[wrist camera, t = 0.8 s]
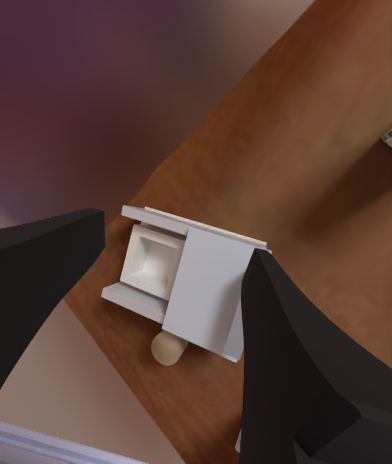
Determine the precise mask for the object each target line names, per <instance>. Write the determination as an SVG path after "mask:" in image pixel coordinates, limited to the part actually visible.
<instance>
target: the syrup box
mask: <svg viewBox="0 0 392 464" xmlns="http://www.w3.org/2000/svg"><path fill="white" fill-rule="evenodd" d="M381 139H382V140H383V141H384V142H385V143H386V144H387V145H388V146H389V147H390V148H391V149H392V129H391V130H390V131H388V132H387V133H386V134H385V135H383V136H382V138H381Z"/></svg>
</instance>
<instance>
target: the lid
mask: <svg viewBox="0 0 392 464" xmlns="http://www.w3.org/2000/svg"><path fill="white" fill-rule="evenodd" d="M254 248H259V249H263V250H267V249H264V248H261V247H258V246H254V245H251V244H248V243H245V242H241V241H238V240H235V239H231V238H228V237H225V236H222V235H218V234H215V233H212V232H208V231H205V230H202V229H199V228H195V227H192V226H190V228H189V231H188V235H187V239H186V242H185V246H184V249H183V253H182V257H181V260H180V264H179V268H178V271H177V275H176V278H175V282H174V286H173V289H172V293H171V297H170V300H169V304H168V307H167V311H166V315H165V318H164V322H163V326H162V329H164V330H166V331H168V332H170V333H172V334H174V335H177V336H179V337H181V338H183V339H185V340H188V341H190V342H192V343H194V344H196V345H198V346H201V347H203V348H205V349H207V350H209V351H212V352H214V353H216V354H218V355H220V356H223V357H225V358H227V359H229V360H231V361H233V362H237V359H238V360H240V357H241V354H242V351H243V348H244V339H243V326H242V313H241V284H242V279H243V276H244V274H245V271H246V268H247V266H248V263H249V261H250V258H251V256H252V253H253V251H254ZM267 251H269V252H270V254H271V253H272V251H271V250H267Z"/></svg>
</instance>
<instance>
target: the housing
mask: <svg viewBox="0 0 392 464" xmlns="http://www.w3.org/2000/svg"><path fill="white" fill-rule="evenodd" d="M121 215H124V216H127V217H130V218H133V219H136V220H139V221H141V225H134V226H133V230H132V234H131V238H130V242H129V246H128V250H127V254H126V258H125V262H124V266H123V270H122V274H121V278H120V281H121V282H118V283H116V284H113V285H110V286H108V287H105V288H103V292H102V296H101V297H103V298H105V299H108V300H110V301H112V302H114V303H116V304H119V305H121V306H123V307H125V308H127V309H130V310H132V311H134V312H136V313H139V314H141V315H143V316H145V317H147V318H150V319H152V320H154V321H156V322H158V323H161V324H163V322H164V318H165V315H166V311H167V307H168V304H169V300H170V297H171V293H172V289H173V286H174V282H175V278H176V275H177V271H178V268H179V264H180V260H181V257H182V253H183V249H184V246H185V242H186V239H187V235H188V231H189V228H190V226H192V227H195V228H199V229H202V230H205V231H208V232H212V233H215V234H218V235H222V236H225V237H228V238H231V239H235V240H238V241H241V242H245V243H248V244H251V245H254V246H258V247H261V248H264V249H267V248H266V244H267V243H266V242H263V241H259V240H256V239H253V238H249V237H246V236H243V235H239V234H236V233H233V232H229V231H226V230H222V229H219V228H216V227H212V226H209V225H206V224H202V223H199V222H196V221H192V220H189V219H185V218H182V217H179V216H175V215H172V214H169V213H165V212H162V211H159V210H155V209H152V208H148V207H145V209H143V208H137V207H130V206H123V209H122V213H121Z"/></svg>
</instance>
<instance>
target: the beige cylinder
mask: <svg viewBox="0 0 392 464" xmlns="http://www.w3.org/2000/svg"><path fill="white" fill-rule="evenodd" d="M189 342H190V341H188V340H185V339H183V338H181V337H179V336H177V335H174V334H172V333H170V332H168V331H166V330H164V329H163V330H162V331H161V332H160V333H159V334H158V335H157V336H156V337H155V338H154V339H153V341H152V344H151V351H152V354H153V356H154V358H155V359H156V360H157V361H158V362H159V363H161V364H163V365H173V364H175V363H176V362H177V361H178V359H179V358H180V356H181V354H182V353H183V351H184V350H185V348H186V347H187V345H188V343H189Z"/></svg>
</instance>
